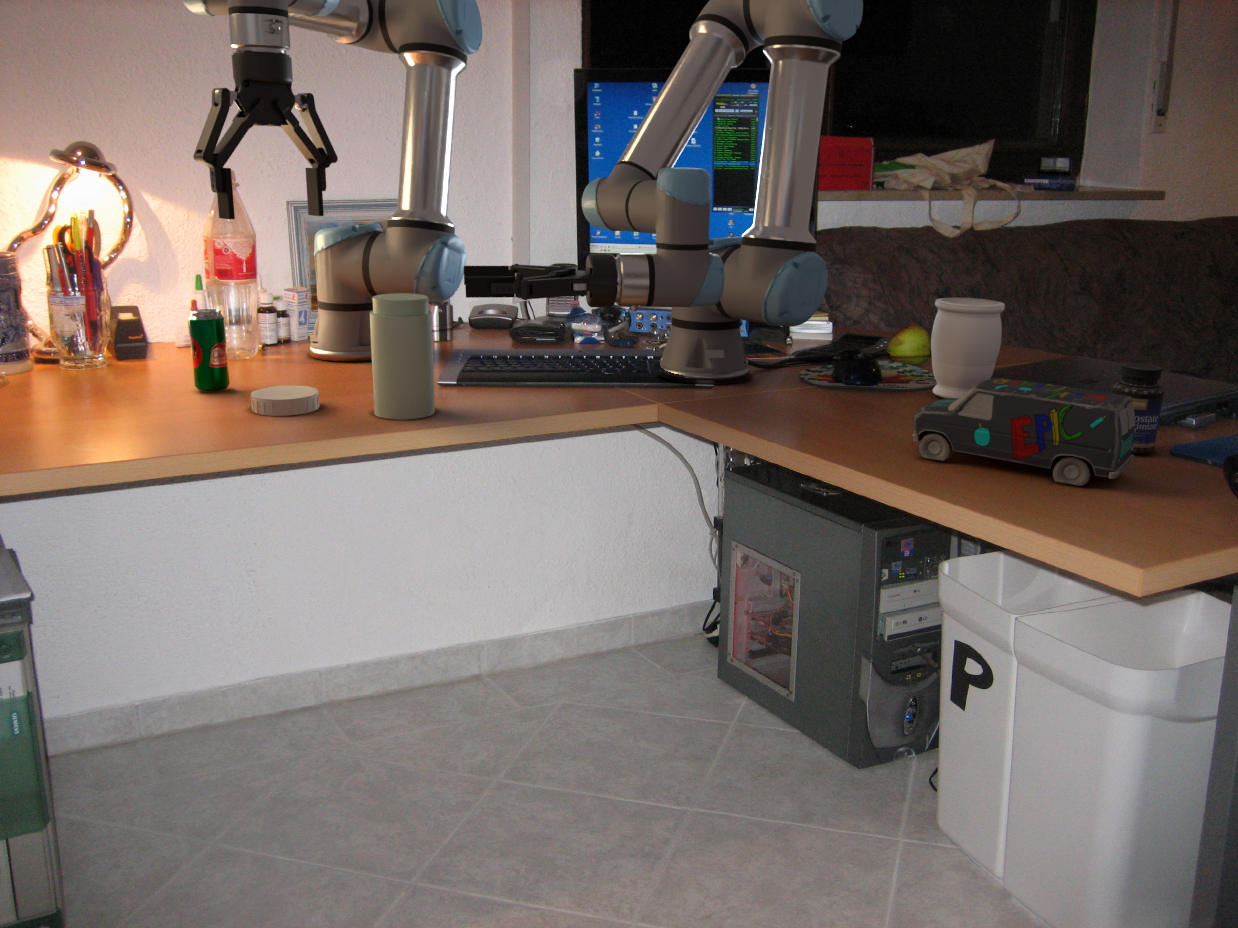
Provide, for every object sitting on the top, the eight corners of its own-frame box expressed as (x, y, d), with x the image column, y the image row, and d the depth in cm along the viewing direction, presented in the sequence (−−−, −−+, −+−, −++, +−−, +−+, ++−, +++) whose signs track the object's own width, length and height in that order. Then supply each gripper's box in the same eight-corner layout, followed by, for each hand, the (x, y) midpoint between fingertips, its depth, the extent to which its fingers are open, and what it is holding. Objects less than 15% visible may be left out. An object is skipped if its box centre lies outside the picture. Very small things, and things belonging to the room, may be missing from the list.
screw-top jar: (429, 420, 149) (425, 301, 144) (368, 419, 149) (362, 300, 144) (439, 406, 157) (435, 293, 152) (381, 405, 157) (376, 292, 152)
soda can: (218, 393, 162) (211, 314, 158) (188, 391, 163) (180, 312, 159) (236, 386, 166) (230, 309, 163) (207, 384, 167) (200, 308, 164)
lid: (299, 398, 161) (298, 382, 160) (332, 409, 154) (331, 393, 153) (239, 407, 154) (238, 391, 153) (271, 419, 148) (270, 402, 147)
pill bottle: (1117, 454, 138) (1130, 370, 135) (1094, 442, 144) (1106, 361, 140) (1163, 454, 138) (1177, 370, 135) (1139, 442, 144) (1152, 361, 141)
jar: (912, 390, 173) (921, 298, 169) (962, 386, 177) (972, 295, 173) (956, 405, 163) (966, 307, 159) (1008, 400, 167) (1020, 304, 163)
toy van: (935, 438, 144) (942, 365, 141) (1133, 472, 130) (1146, 392, 127) (905, 455, 135) (913, 378, 133) (1114, 493, 122) (1127, 408, 119)
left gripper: (184, 42, 129) (200, 221, 135) (357, 58, 147) (365, 215, 153) (155, 45, 134) (172, 218, 140) (326, 60, 152) (334, 213, 158)
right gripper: (628, 320, 142) (466, 321, 138) (602, 295, 165) (464, 296, 162) (629, 263, 139) (465, 263, 136) (603, 246, 163) (462, 245, 160)
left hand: (273, 217), depth 147 cm, fingers open, 13 cm apart
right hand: (464, 281), depth 149 cm, fingers open, 13 cm apart
